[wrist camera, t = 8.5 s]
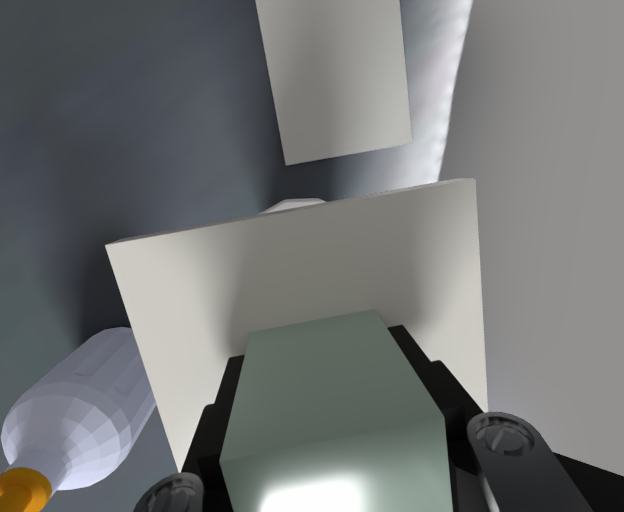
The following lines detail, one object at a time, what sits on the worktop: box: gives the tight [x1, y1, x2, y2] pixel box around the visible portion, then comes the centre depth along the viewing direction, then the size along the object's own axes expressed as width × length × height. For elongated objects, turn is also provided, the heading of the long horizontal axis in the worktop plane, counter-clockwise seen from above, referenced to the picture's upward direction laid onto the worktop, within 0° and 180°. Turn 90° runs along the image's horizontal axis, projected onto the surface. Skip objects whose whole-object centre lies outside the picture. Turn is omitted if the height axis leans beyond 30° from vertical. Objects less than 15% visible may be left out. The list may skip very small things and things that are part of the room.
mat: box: [255, 0, 412, 165], centre depth 30 cm, size 16×12×1 cm
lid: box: [105, 178, 488, 512], centre depth 9 cm, size 11×11×6 cm
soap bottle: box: [0, 327, 156, 512], centre depth 24 cm, size 9×9×25 cm
